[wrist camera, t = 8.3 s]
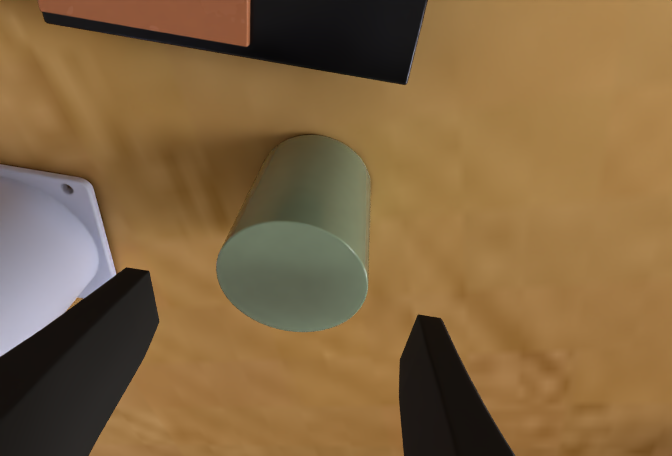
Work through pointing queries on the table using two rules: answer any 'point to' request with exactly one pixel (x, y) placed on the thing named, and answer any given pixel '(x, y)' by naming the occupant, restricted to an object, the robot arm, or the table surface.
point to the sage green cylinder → (301, 238)
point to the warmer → (309, 35)
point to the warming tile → (166, 16)
